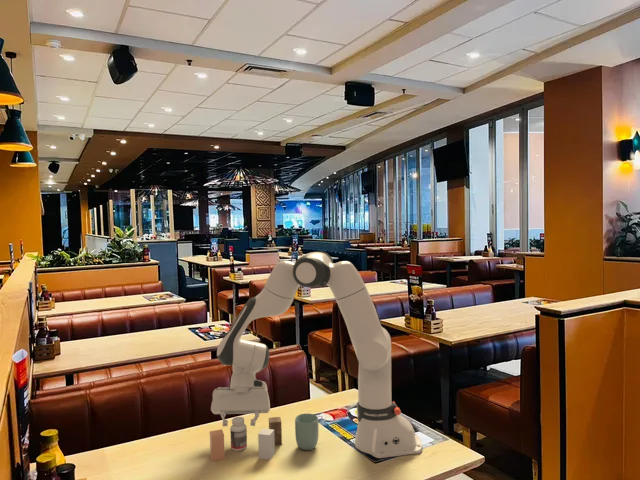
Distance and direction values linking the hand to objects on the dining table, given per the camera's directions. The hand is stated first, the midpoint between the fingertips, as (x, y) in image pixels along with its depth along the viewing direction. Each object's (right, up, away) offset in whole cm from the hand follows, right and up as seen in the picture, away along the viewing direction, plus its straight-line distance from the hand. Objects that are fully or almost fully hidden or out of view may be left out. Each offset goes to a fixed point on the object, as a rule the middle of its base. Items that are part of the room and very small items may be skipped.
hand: (238, 425), depth 160 cm
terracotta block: (-6, -7, -7) cm, 12 cm away
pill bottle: (0, -7, -1) cm, 7 cm away
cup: (+23, -7, -2) cm, 24 cm away
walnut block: (+12, -7, +2) cm, 14 cm away
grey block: (+10, -7, -7) cm, 14 cm away
